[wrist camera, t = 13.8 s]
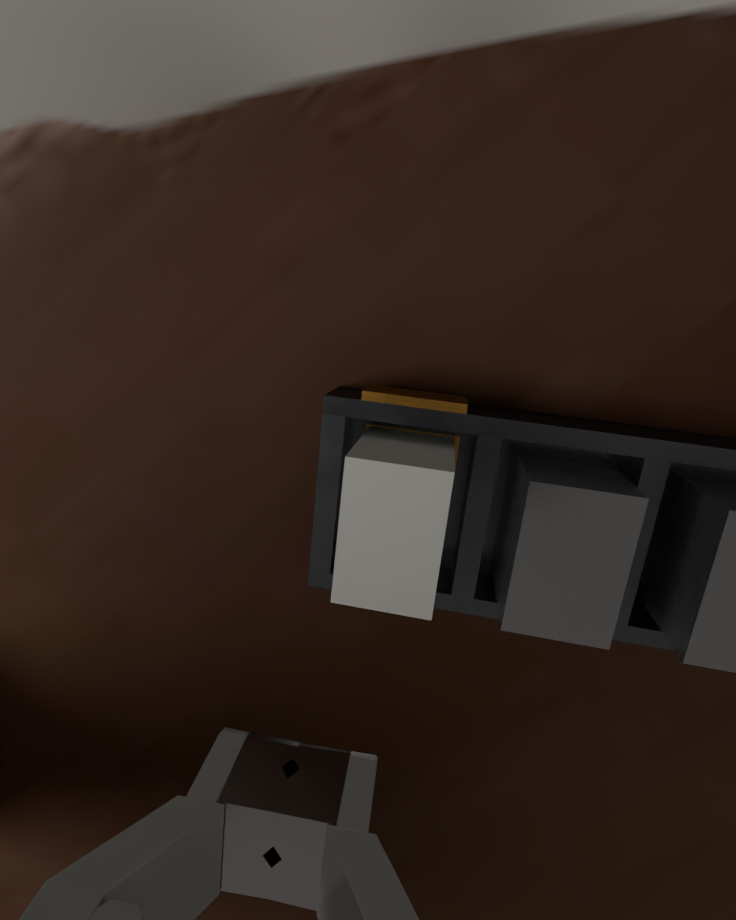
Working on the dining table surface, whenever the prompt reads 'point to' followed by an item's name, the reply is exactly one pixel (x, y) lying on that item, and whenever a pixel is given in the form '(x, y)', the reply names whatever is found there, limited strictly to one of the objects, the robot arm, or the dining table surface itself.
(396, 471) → the tall light grey cuboid
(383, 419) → the rack
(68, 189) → the dining table surface
